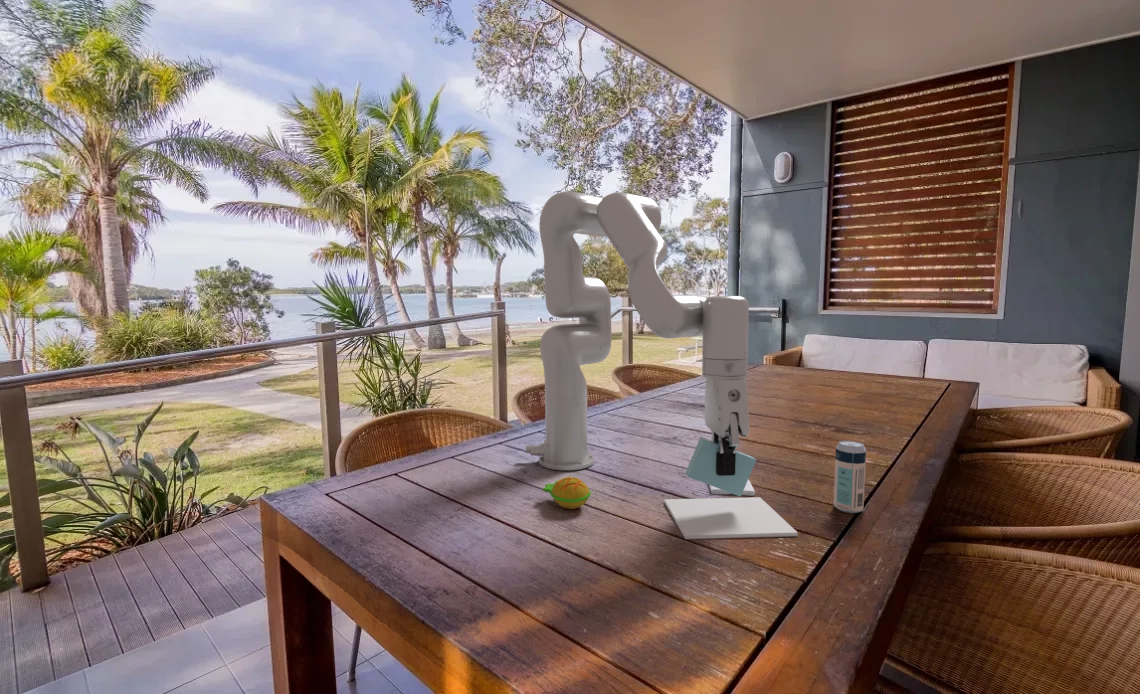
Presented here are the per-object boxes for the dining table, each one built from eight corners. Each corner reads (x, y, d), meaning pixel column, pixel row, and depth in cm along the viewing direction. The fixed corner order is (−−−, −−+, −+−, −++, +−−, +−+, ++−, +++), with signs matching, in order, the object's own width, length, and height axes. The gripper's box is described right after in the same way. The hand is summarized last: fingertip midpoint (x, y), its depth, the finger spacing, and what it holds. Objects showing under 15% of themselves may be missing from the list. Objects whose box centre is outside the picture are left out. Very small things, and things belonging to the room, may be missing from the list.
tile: (688, 476, 93) (703, 439, 93) (685, 473, 95) (700, 436, 95) (740, 496, 94) (756, 460, 94) (736, 492, 96) (752, 456, 96)
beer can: (860, 505, 98) (863, 441, 97) (865, 516, 93) (869, 448, 92) (831, 502, 100) (834, 438, 98) (835, 512, 95) (837, 445, 94)
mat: (685, 539, 85) (685, 535, 85) (664, 502, 100) (664, 499, 100) (797, 536, 86) (797, 532, 86) (759, 500, 101) (759, 497, 101)
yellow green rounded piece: (568, 518, 93) (567, 488, 92) (536, 501, 101) (535, 473, 100) (598, 509, 97) (598, 480, 97) (565, 493, 105) (565, 466, 105)
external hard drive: (744, 477, 115) (755, 498, 103) (704, 475, 117) (711, 496, 104) (744, 469, 115) (755, 490, 103) (704, 467, 117) (711, 488, 104)
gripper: (764, 374, 85) (762, 487, 87) (730, 362, 101) (729, 459, 103) (717, 375, 85) (716, 489, 86) (690, 363, 101) (689, 460, 102)
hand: (723, 472), depth 94 cm, fingers closed on tile, 1 cm apart
